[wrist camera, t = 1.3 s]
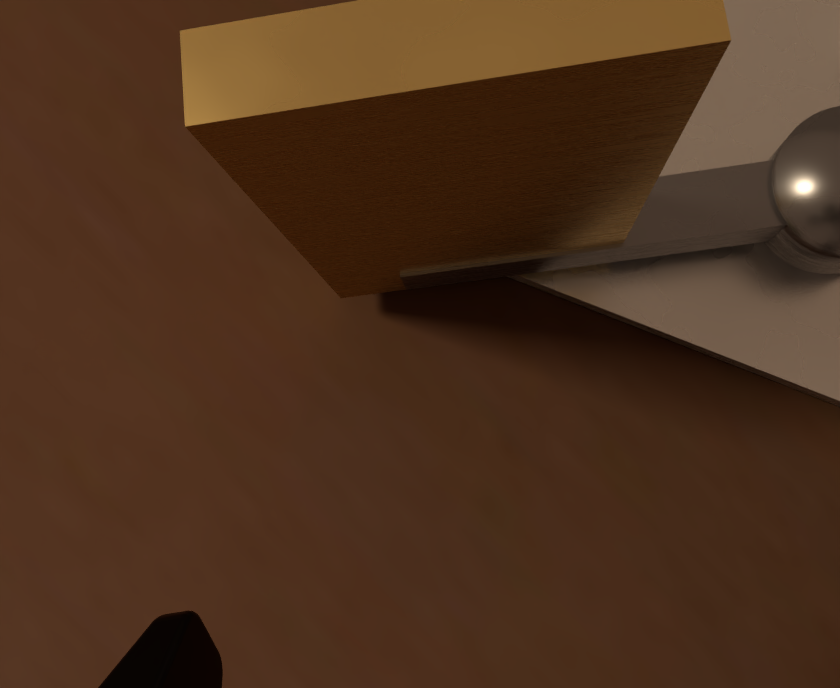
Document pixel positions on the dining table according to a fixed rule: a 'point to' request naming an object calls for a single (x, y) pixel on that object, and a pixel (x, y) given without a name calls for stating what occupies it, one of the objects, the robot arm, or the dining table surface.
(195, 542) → the dining table surface
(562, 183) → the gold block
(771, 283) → the plate
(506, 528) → the dining table surface
